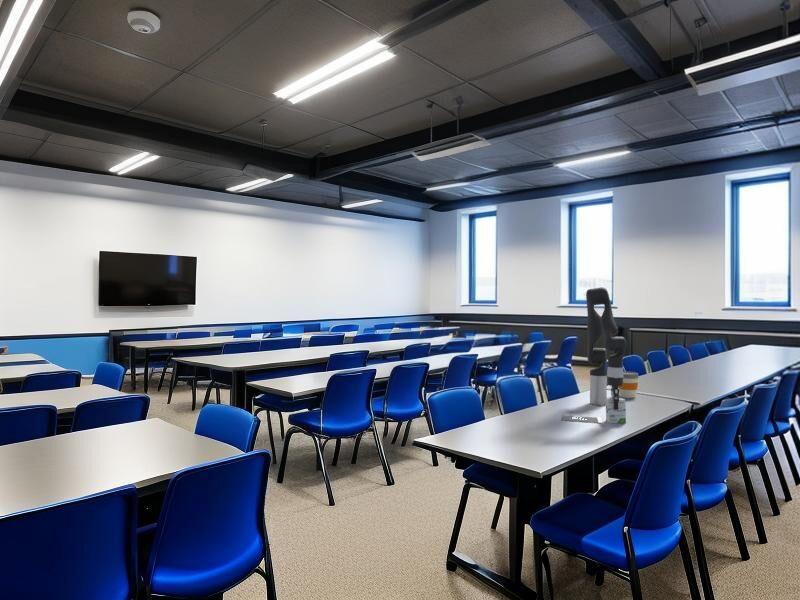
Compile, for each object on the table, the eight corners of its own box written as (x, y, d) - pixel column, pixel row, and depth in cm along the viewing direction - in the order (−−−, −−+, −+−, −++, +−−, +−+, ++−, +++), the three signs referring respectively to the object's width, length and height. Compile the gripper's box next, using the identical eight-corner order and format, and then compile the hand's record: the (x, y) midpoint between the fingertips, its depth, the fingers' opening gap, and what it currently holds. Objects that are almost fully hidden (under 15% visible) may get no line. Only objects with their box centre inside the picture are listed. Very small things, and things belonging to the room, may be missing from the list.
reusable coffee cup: (612, 394, 326) (612, 371, 326) (630, 394, 329) (630, 371, 328) (624, 398, 314) (624, 374, 314) (642, 398, 316) (642, 374, 316)
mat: (562, 415, 270) (562, 415, 270) (600, 418, 264) (600, 417, 264) (561, 420, 260) (561, 419, 260) (601, 423, 254) (601, 422, 254)
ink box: (622, 420, 259) (622, 397, 259) (626, 423, 254) (626, 399, 254) (605, 420, 260) (605, 397, 260) (608, 423, 255) (608, 399, 255)
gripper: (606, 373, 265) (606, 404, 265) (608, 377, 251) (608, 410, 251) (621, 374, 262) (621, 405, 262) (624, 378, 249) (624, 411, 249)
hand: (615, 407), depth 257 cm, fingers open, 8 cm apart
